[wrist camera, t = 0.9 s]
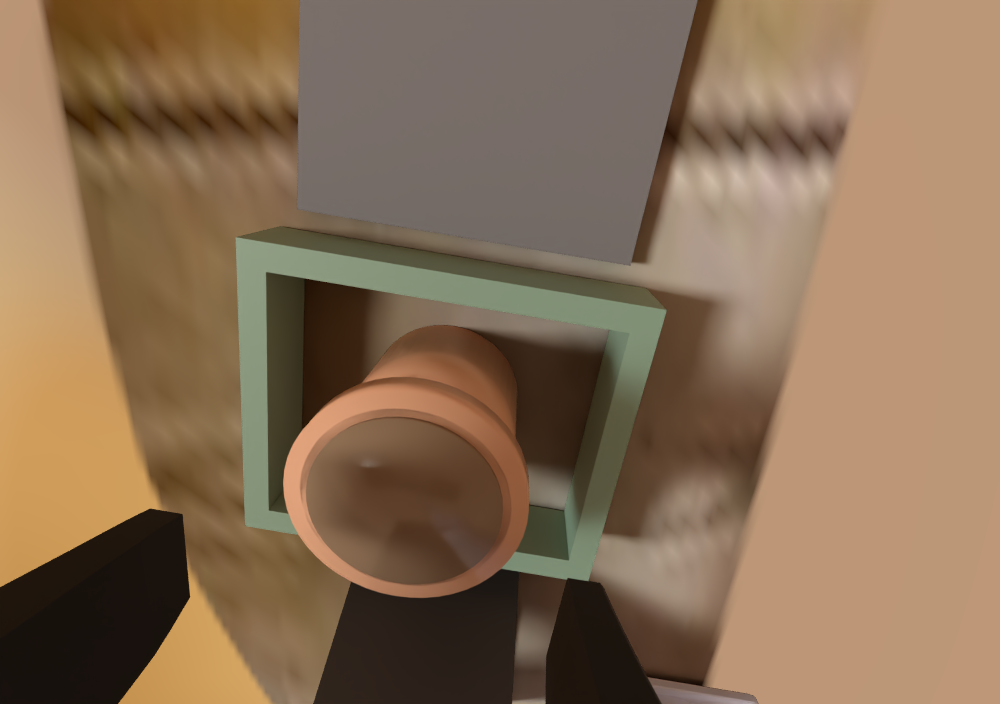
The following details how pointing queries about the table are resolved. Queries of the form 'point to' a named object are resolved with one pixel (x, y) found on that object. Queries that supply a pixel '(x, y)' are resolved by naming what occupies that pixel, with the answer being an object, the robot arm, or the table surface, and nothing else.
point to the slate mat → (489, 116)
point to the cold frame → (309, 255)
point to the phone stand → (424, 647)
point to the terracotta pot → (415, 469)
